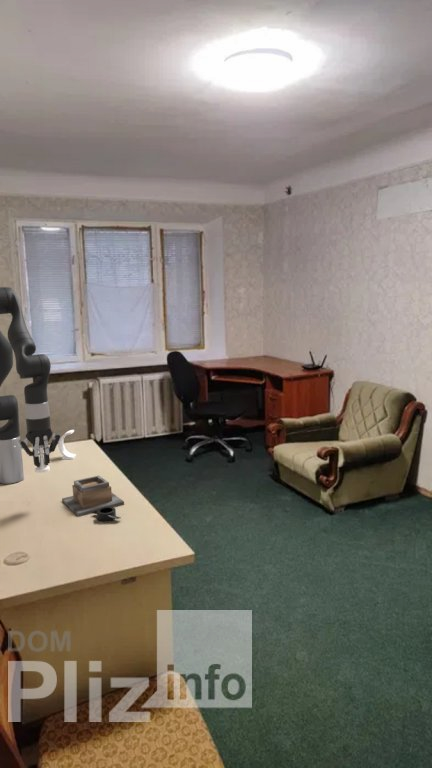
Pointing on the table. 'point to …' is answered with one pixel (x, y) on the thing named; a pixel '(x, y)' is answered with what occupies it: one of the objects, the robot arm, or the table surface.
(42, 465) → the chess piece
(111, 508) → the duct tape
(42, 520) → the table surface
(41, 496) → the table surface
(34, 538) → the table surface
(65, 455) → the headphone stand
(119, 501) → the pedestal
